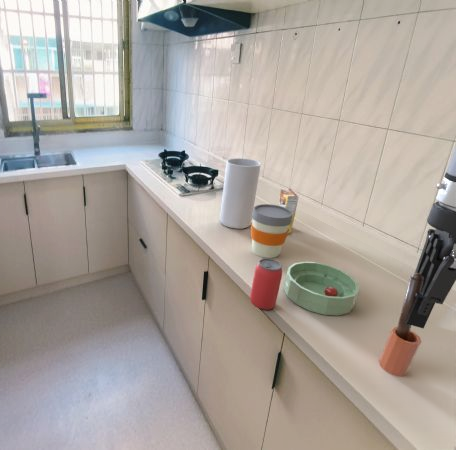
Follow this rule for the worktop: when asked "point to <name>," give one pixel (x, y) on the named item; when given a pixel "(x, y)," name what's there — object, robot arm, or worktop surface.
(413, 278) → the stirring stick
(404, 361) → the crock
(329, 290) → the bead
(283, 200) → the candy box
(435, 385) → the worktop surface
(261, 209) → the reusable coffee cup
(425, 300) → the robot arm
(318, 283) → the bowl
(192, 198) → the worktop surface
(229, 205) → the cylinder vase
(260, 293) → the beer can
